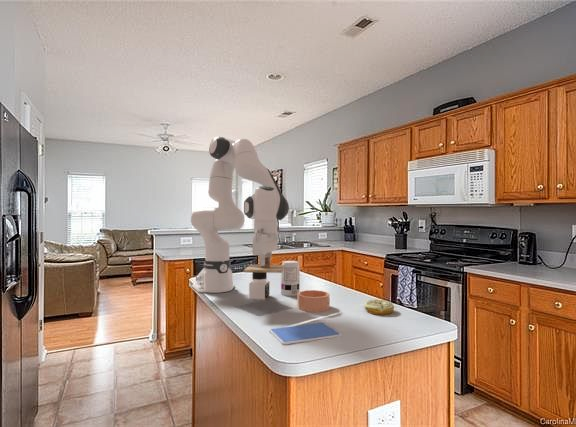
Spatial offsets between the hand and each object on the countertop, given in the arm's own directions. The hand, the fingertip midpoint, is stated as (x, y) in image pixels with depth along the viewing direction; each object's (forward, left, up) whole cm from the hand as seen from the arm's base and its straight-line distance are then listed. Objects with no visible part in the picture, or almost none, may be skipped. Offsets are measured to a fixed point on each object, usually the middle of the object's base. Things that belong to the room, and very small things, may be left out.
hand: (265, 264), depth 135 cm
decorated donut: (+29, +31, -18) cm, 47 cm away
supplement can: (-11, +21, -17) cm, 30 cm away
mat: (-1, -1, -17) cm, 17 cm away
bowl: (+11, +14, -17) cm, 25 cm away
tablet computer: (+29, -7, -18) cm, 35 cm away
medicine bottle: (-15, +7, -17) cm, 24 cm away
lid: (0, 0, -2) cm, 2 cm away
